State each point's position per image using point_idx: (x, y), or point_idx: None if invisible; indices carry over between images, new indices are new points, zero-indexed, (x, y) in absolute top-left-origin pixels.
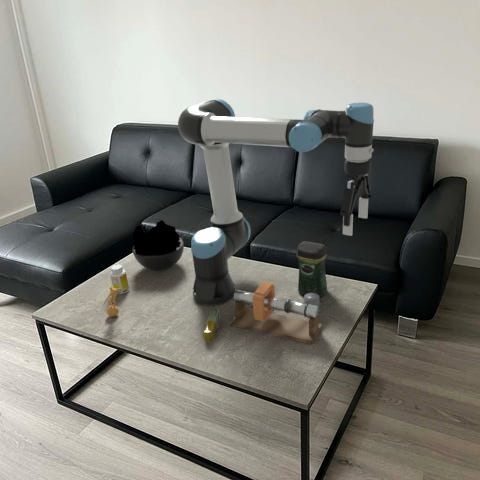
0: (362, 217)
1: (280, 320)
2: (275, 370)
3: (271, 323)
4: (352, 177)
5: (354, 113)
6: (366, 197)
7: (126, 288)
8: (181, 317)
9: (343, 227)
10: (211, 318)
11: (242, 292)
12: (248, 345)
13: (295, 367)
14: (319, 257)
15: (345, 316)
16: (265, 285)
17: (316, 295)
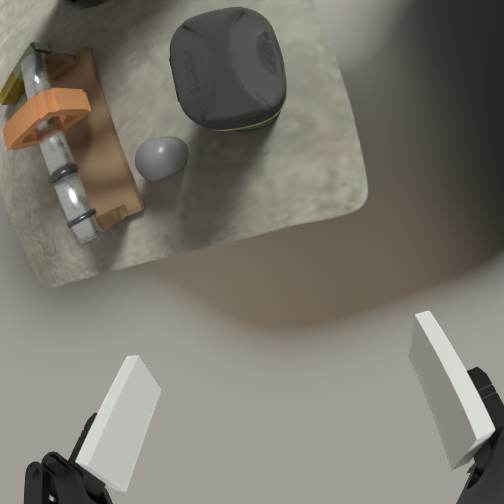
0: (412, 340)
1: (95, 136)
2: (37, 224)
3: (79, 132)
4: None
5: None
6: (479, 459)
7: None
8: (30, 15)
9: (113, 390)
10: (17, 68)
11: (25, 74)
12: (36, 148)
13: (56, 241)
14: (206, 127)
15: (209, 223)
16: (27, 114)
17: (166, 165)
